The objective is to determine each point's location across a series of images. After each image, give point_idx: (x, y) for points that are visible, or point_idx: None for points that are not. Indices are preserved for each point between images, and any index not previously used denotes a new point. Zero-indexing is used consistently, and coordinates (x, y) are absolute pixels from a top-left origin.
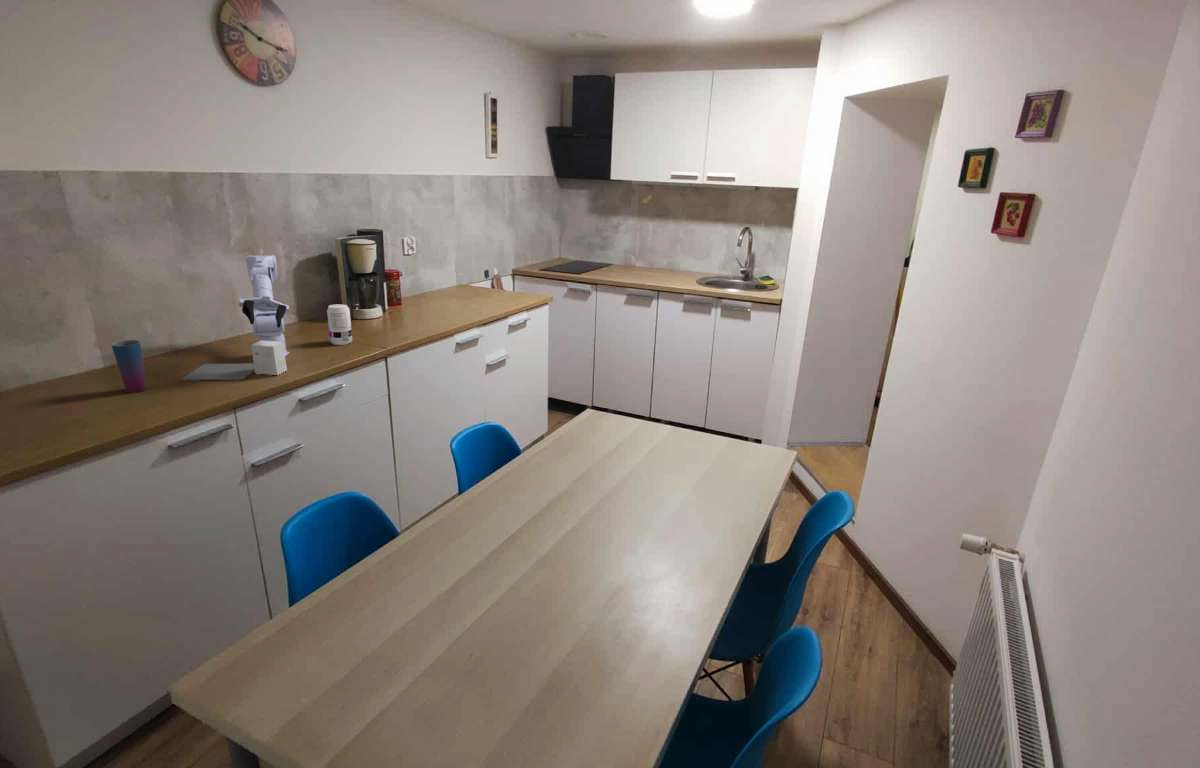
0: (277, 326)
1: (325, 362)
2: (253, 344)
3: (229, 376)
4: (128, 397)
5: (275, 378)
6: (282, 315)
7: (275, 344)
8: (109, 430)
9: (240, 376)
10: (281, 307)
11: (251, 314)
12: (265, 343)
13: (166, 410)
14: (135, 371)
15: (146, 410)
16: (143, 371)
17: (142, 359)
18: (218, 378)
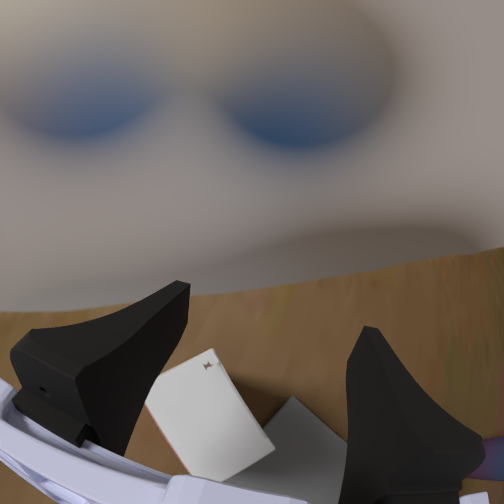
0: (186, 320)
1: (6, 365)
2: (265, 444)
3: (311, 443)
4: (468, 420)
5: (208, 346)
6: (120, 310)
7: (187, 370)
8: (483, 280)
9: (288, 423)
10: (75, 346)
11: (395, 355)
12: (215, 422)
13: (442, 304)
14: (491, 439)
15: (460, 328)
16: None
17: (497, 458)
18: (338, 443)
